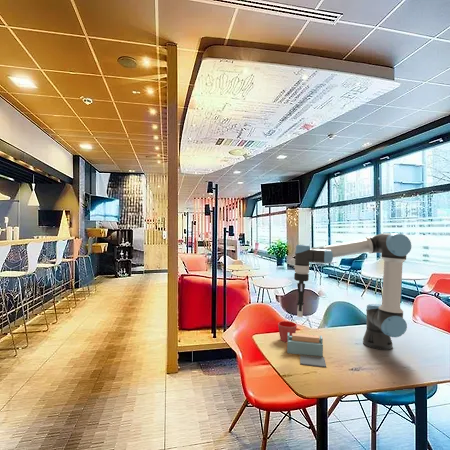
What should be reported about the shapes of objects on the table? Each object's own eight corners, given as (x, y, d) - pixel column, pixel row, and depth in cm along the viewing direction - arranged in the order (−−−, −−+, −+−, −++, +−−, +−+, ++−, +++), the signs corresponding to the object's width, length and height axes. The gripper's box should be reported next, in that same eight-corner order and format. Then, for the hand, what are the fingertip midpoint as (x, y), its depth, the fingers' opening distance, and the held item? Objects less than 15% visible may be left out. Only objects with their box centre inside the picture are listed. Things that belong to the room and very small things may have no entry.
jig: (321, 350, 162) (321, 334, 162) (322, 356, 153) (322, 340, 153) (287, 346, 166) (287, 331, 166) (287, 353, 157) (287, 336, 157)
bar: (318, 343, 160) (318, 335, 160) (319, 345, 156) (319, 338, 156) (292, 340, 163) (292, 333, 163) (292, 343, 159) (292, 335, 159)
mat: (324, 358, 151) (324, 357, 151) (326, 367, 141) (326, 366, 141) (299, 356, 153) (300, 354, 153) (300, 364, 144) (300, 363, 144)
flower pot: (291, 345, 168) (292, 328, 168) (274, 340, 175) (274, 324, 175) (299, 339, 176) (299, 323, 177) (282, 335, 183) (282, 319, 183)
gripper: (294, 271, 167) (292, 312, 167) (294, 274, 155) (292, 319, 154) (308, 272, 166) (306, 314, 165) (309, 275, 153) (307, 320, 153)
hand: (299, 316), depth 160 cm, fingers closed
